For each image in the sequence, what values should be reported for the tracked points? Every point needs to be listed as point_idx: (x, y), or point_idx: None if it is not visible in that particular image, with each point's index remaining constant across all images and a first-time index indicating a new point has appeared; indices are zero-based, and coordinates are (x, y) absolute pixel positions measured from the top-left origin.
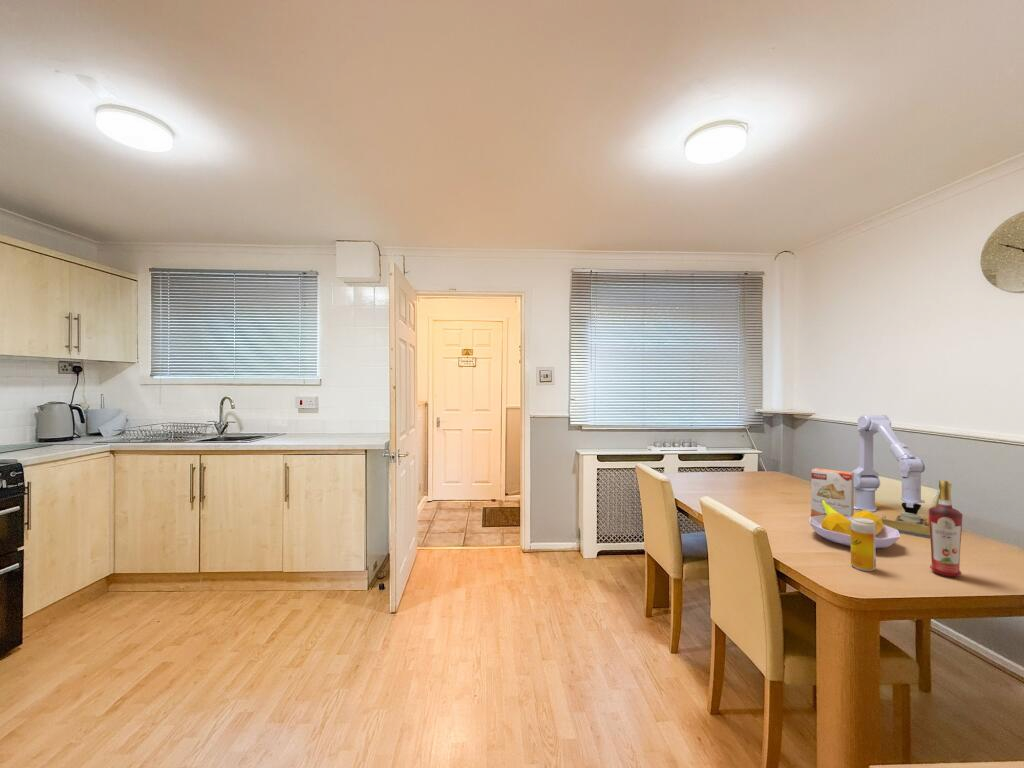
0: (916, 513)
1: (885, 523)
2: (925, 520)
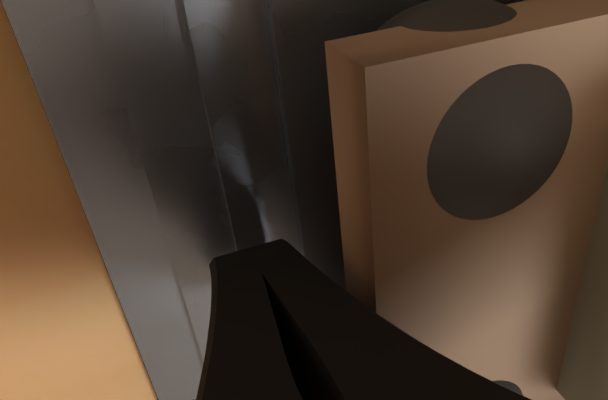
0: (473, 375)
1: None
2: (488, 49)
